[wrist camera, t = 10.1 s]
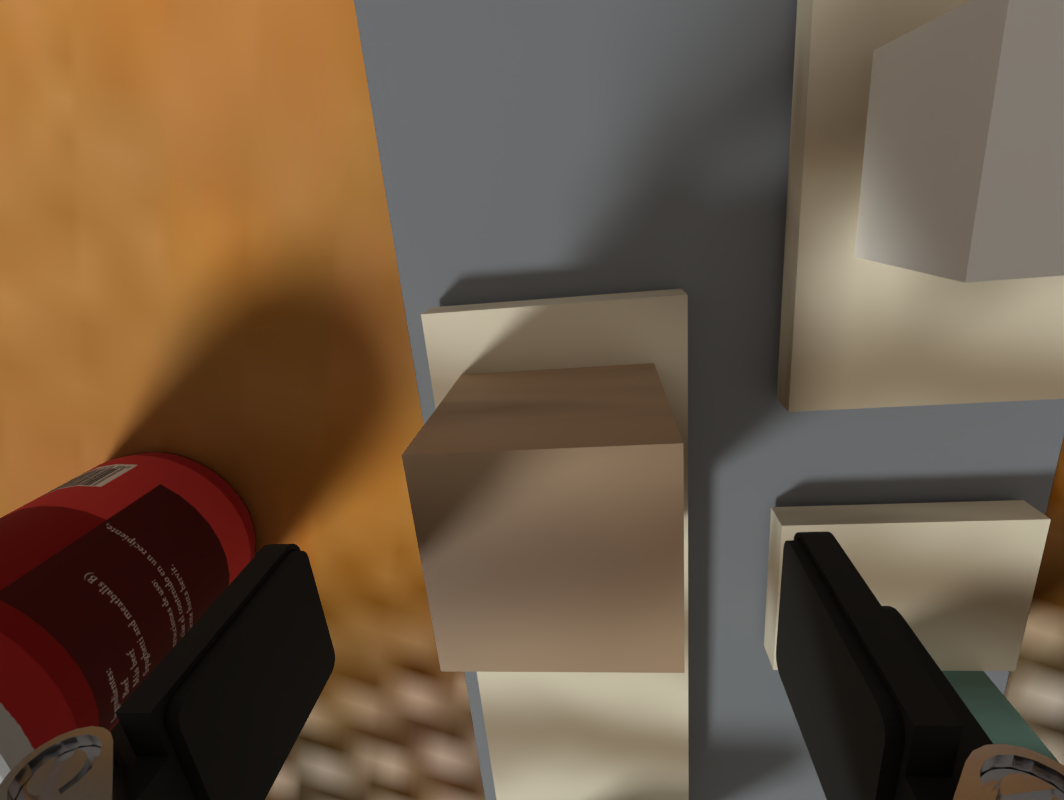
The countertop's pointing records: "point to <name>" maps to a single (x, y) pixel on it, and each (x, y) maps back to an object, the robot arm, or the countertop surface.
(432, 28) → the mat
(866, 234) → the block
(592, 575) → the cube
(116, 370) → the countertop surface
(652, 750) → the strip
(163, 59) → the countertop surface
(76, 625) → the canned food
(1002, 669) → the broken strip
